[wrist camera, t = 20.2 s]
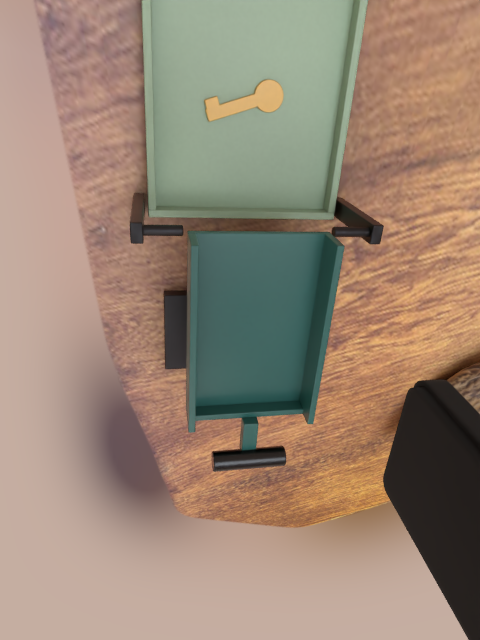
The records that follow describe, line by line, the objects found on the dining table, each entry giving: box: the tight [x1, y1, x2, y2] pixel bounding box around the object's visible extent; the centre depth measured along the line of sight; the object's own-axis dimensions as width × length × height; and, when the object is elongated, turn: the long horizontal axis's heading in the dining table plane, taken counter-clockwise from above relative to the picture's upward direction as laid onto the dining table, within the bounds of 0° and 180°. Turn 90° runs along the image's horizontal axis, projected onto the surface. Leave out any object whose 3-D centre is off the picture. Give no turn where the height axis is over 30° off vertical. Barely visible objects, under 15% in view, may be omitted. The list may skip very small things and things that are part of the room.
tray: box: [142, 0, 368, 220], centre depth 32 cm, size 23×15×2 cm, turn 177°
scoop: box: [186, 231, 344, 472], centre depth 35 cm, size 19×10×4 cm, turn 177°
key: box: [204, 79, 284, 122], centre depth 34 cm, size 6×2×1 cm, turn 106°
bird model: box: [447, 362, 480, 414], centre depth 50 cm, size 21×6×5 cm
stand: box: [130, 193, 384, 369], centre depth 38 cm, size 16×17×8 cm
